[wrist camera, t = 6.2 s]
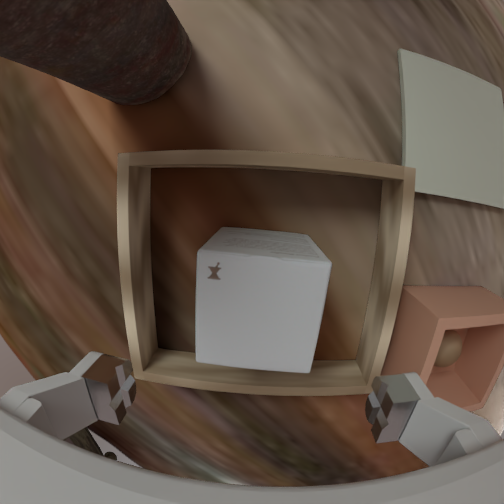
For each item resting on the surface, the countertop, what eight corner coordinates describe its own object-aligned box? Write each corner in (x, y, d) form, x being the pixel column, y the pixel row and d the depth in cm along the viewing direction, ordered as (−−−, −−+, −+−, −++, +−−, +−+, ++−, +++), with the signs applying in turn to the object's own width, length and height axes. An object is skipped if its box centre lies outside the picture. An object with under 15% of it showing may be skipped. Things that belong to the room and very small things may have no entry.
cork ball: (425, 322, 20) (444, 341, 17) (454, 320, 20) (474, 337, 17) (415, 356, 21) (431, 377, 17) (444, 353, 20) (461, 372, 17)
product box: (215, 307, 21) (191, 363, 14) (220, 224, 20) (194, 246, 13) (299, 316, 21) (311, 376, 14) (311, 233, 20) (335, 261, 12)
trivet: (397, 51, 16) (400, 48, 15) (497, 89, 15) (500, 88, 15) (400, 189, 18) (404, 189, 18) (500, 208, 18) (504, 208, 17)
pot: (400, 285, 20) (438, 318, 14) (481, 286, 20) (523, 311, 14) (375, 382, 22) (397, 428, 16) (453, 372, 22) (482, 407, 16)
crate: (141, 157, 19) (118, 153, 15) (393, 170, 18) (415, 168, 15) (150, 354, 22) (134, 378, 19) (362, 367, 22) (374, 393, 18)
